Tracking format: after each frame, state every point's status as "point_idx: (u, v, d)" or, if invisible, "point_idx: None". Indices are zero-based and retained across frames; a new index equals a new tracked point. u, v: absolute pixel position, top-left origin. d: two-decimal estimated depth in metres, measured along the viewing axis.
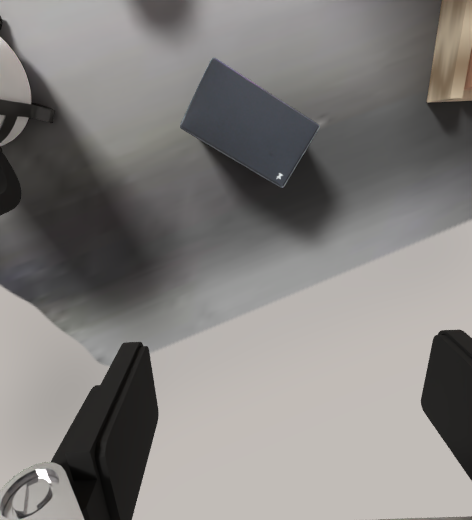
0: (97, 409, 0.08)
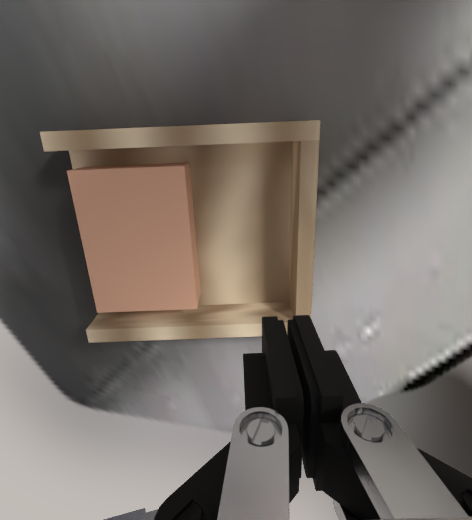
0: (279, 366, 0.09)
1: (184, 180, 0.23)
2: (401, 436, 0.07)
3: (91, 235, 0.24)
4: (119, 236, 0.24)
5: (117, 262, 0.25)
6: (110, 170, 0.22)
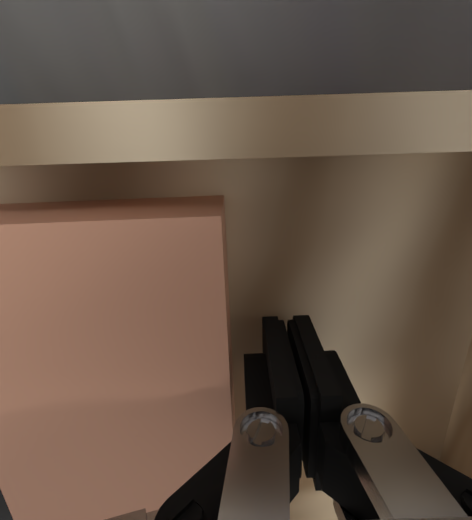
0: (279, 367, 0.09)
1: (220, 254, 0.08)
2: (401, 436, 0.07)
3: None
4: (51, 382, 0.10)
5: (52, 434, 0.10)
6: (14, 228, 0.08)
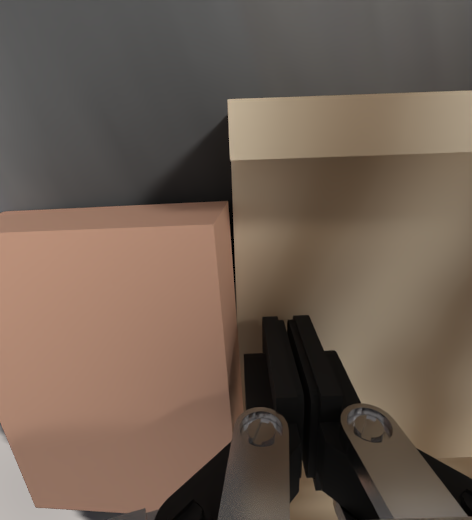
0: (279, 367, 0.09)
1: (214, 261, 0.08)
2: (401, 436, 0.07)
3: (2, 373, 0.10)
4: (62, 378, 0.10)
5: (64, 427, 0.11)
6: (24, 235, 0.09)
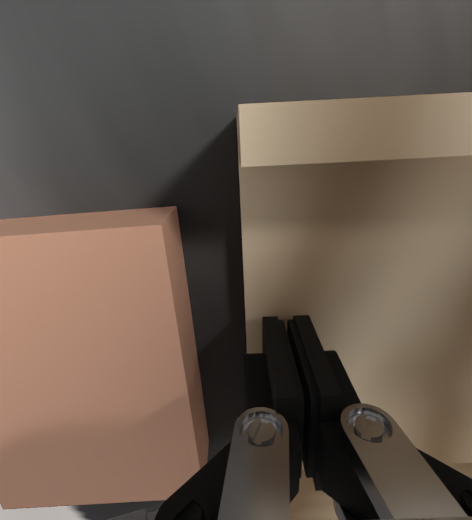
0: (279, 367, 0.09)
1: (164, 257, 0.09)
2: (401, 436, 0.07)
3: None
4: (25, 377, 0.11)
5: (29, 424, 0.12)
6: None
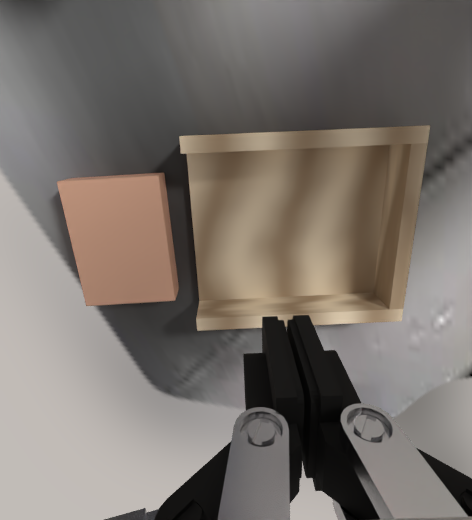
0: (279, 367, 0.09)
1: (159, 188, 0.26)
2: (401, 436, 0.07)
3: (79, 237, 0.28)
4: (103, 237, 0.28)
5: (103, 260, 0.28)
6: (94, 180, 0.26)
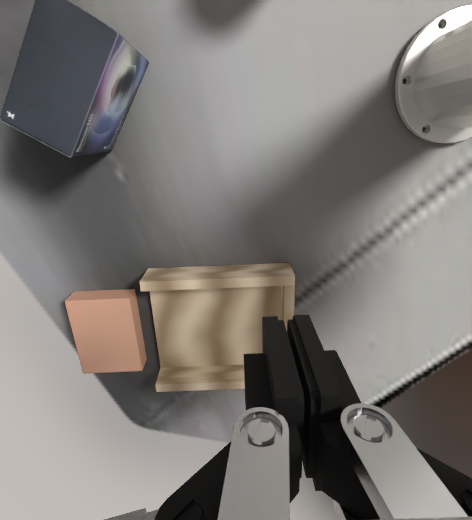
0: (279, 367, 0.09)
1: (129, 305, 0.41)
2: (401, 436, 0.07)
3: (78, 332, 0.42)
4: (94, 332, 0.42)
5: (94, 346, 0.43)
6: (88, 300, 0.41)
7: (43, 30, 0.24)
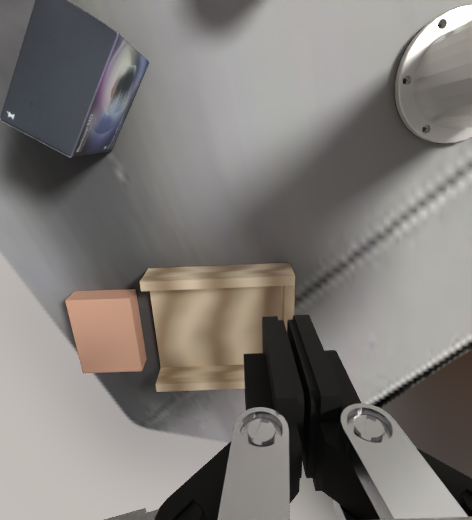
0: (279, 367, 0.09)
1: (130, 305, 0.41)
2: (401, 436, 0.07)
3: (79, 332, 0.42)
4: (94, 332, 0.42)
5: (94, 346, 0.43)
6: (89, 300, 0.41)
7: (43, 30, 0.24)
